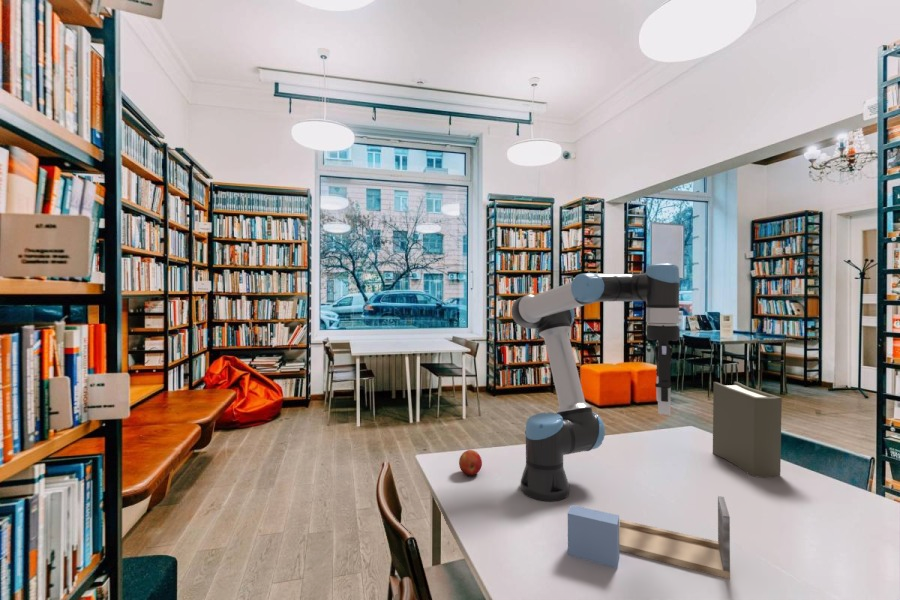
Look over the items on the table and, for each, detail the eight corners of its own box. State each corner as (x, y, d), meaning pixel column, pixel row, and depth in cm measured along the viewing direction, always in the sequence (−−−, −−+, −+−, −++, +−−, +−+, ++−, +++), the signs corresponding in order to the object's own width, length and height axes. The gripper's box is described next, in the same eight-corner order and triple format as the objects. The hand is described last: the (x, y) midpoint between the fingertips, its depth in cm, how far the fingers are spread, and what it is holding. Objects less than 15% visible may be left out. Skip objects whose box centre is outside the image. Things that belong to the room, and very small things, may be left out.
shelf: (616, 549, 100) (615, 494, 100) (620, 528, 109) (619, 478, 109) (730, 578, 89) (729, 516, 89) (724, 553, 98) (723, 496, 98)
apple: (483, 470, 147) (482, 447, 146) (480, 480, 138) (480, 456, 138) (460, 468, 148) (460, 446, 148) (457, 478, 140) (457, 455, 140)
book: (782, 478, 139) (783, 396, 138) (755, 479, 139) (756, 396, 138) (736, 452, 161) (737, 381, 160) (712, 453, 160) (713, 382, 159)
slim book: (567, 555, 98) (567, 513, 98) (571, 544, 102) (571, 504, 102) (617, 568, 93) (617, 524, 93) (619, 557, 97) (619, 515, 97)
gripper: (683, 328, 92) (684, 422, 93) (676, 321, 115) (676, 397, 115) (646, 327, 96) (647, 418, 96) (646, 321, 118) (646, 395, 118)
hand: (663, 407), depth 105 cm, fingers open, 13 cm apart
